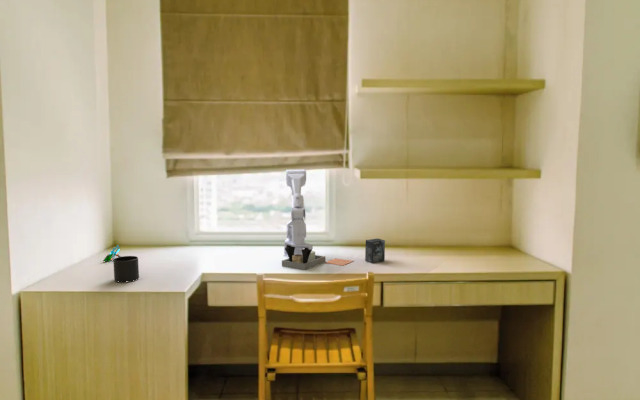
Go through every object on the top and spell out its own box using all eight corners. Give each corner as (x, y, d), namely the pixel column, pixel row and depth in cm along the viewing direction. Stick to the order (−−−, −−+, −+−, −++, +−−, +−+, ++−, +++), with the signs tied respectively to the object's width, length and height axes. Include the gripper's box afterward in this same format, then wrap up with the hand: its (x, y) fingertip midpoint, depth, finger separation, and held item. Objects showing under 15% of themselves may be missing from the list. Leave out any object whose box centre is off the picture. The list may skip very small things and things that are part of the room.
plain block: (303, 262, 217) (303, 252, 217) (308, 260, 221) (308, 250, 220) (310, 263, 215) (310, 253, 215) (315, 261, 219) (315, 251, 218)
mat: (324, 263, 216) (324, 262, 216) (335, 259, 225) (335, 258, 225) (342, 266, 211) (342, 265, 211) (353, 262, 219) (353, 260, 219)
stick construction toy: (113, 252, 231) (118, 241, 228) (125, 260, 231) (130, 249, 228) (98, 264, 220) (104, 253, 217) (111, 272, 220) (116, 261, 217)
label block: (292, 266, 210) (292, 255, 209) (297, 264, 213) (297, 253, 213) (299, 267, 208) (299, 256, 207) (304, 265, 211) (304, 254, 210)
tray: (281, 267, 210) (281, 260, 210) (303, 259, 225) (303, 253, 225) (304, 270, 203) (304, 264, 203) (325, 262, 218) (325, 256, 218)
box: (372, 263, 216) (372, 241, 215) (364, 261, 221) (365, 239, 220) (385, 261, 221) (385, 239, 219) (377, 259, 225) (377, 238, 224)
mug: (141, 274, 198) (140, 254, 197) (137, 282, 187) (136, 260, 186) (118, 275, 196) (117, 255, 195) (112, 283, 184) (111, 261, 183)
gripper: (280, 233, 209) (280, 262, 211) (306, 236, 202) (306, 266, 203) (289, 231, 215) (289, 259, 217) (315, 234, 207) (315, 263, 209)
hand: (298, 263), depth 210 cm, fingers open, 7 cm apart
